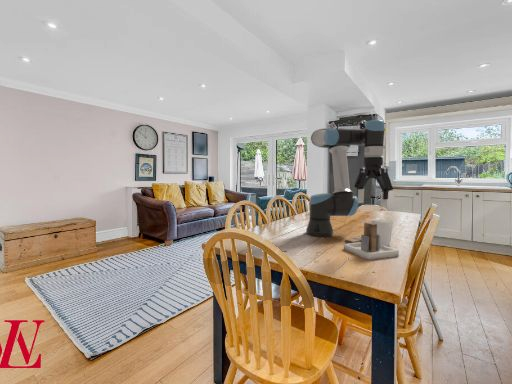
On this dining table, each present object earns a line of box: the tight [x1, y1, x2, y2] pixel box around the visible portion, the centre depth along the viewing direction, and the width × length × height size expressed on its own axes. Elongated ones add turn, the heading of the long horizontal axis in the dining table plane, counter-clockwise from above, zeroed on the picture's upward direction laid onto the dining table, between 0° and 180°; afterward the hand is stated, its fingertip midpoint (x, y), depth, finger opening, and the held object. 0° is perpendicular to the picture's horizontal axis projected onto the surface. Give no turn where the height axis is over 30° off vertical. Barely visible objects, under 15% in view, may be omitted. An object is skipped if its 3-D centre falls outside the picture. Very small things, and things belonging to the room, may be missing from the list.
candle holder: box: [370, 218, 394, 247], centre depth 132 cm, size 10×10×12 cm
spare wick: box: [344, 235, 361, 244], centre depth 133 cm, size 12×5×2 cm, turn 125°
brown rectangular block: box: [363, 221, 377, 252], centre depth 117 cm, size 5×2×12 cm, turn 19°
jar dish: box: [343, 234, 400, 261], centre depth 117 cm, size 16×16×8 cm
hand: (371, 205), depth 116 cm, fingers open, 13 cm apart
